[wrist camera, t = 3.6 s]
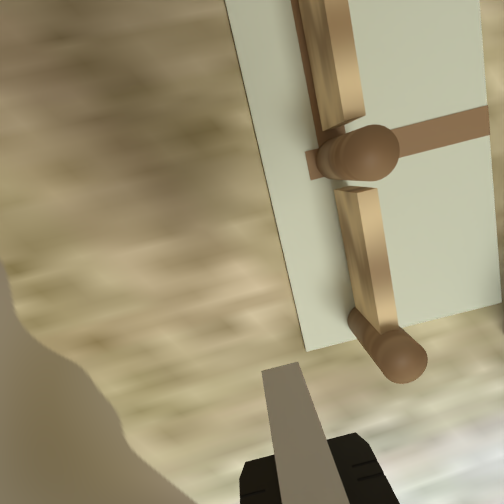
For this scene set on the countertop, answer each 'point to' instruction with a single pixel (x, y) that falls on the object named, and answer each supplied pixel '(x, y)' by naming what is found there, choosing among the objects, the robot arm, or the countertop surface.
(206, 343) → the countertop surface
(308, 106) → the card
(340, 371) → the countertop surface
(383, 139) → the fence fixed
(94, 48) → the countertop surface
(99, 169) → the countertop surface
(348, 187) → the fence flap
